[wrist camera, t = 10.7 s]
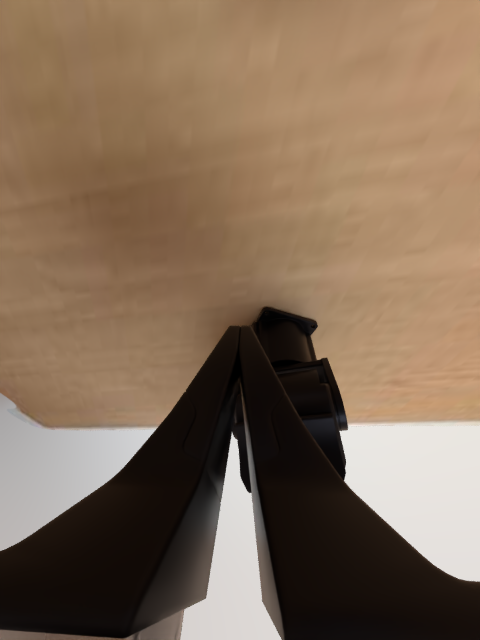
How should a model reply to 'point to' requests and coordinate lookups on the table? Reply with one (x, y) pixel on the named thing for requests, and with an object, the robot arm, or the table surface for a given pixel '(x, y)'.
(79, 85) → the table surface
